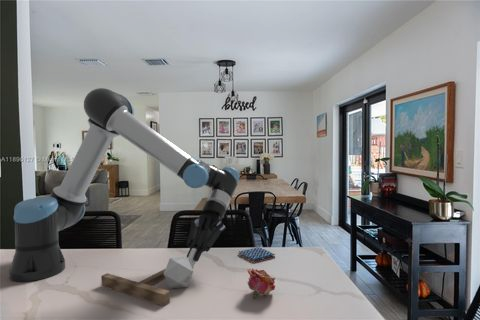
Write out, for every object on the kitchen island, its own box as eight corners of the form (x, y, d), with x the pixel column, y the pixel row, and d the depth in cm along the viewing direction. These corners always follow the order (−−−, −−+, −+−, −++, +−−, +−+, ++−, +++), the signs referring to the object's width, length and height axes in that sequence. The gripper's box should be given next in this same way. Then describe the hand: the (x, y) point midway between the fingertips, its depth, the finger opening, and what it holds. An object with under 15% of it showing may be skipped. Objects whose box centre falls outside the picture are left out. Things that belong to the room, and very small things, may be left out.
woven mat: (258, 250, 120) (258, 245, 120) (276, 259, 111) (276, 253, 111) (236, 256, 114) (236, 250, 114) (253, 265, 105) (253, 259, 105)
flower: (262, 302, 75) (274, 274, 78) (234, 287, 80) (246, 261, 82) (272, 308, 82) (282, 281, 85) (245, 294, 87) (256, 269, 90)
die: (182, 297, 83) (200, 264, 86) (155, 281, 83) (174, 249, 87) (183, 294, 91) (199, 264, 94) (157, 280, 91) (175, 250, 94)
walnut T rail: (101, 285, 89) (101, 275, 89) (143, 266, 103) (143, 258, 103) (164, 306, 77) (164, 294, 77) (201, 281, 91) (201, 271, 91)
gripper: (236, 213, 106) (210, 279, 92) (205, 210, 112) (176, 271, 98) (228, 200, 101) (199, 268, 87) (196, 197, 107) (164, 260, 93)
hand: (187, 270), depth 92 cm, fingers closed
